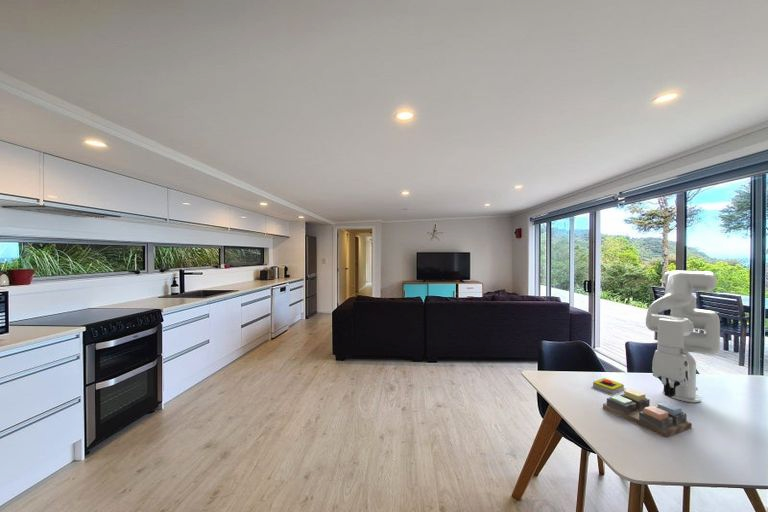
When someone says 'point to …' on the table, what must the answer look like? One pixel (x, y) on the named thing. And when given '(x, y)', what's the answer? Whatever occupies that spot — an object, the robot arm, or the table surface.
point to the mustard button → (634, 395)
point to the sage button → (621, 400)
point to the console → (648, 417)
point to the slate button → (670, 408)
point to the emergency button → (608, 386)
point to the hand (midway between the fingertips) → (669, 395)
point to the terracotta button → (656, 413)
